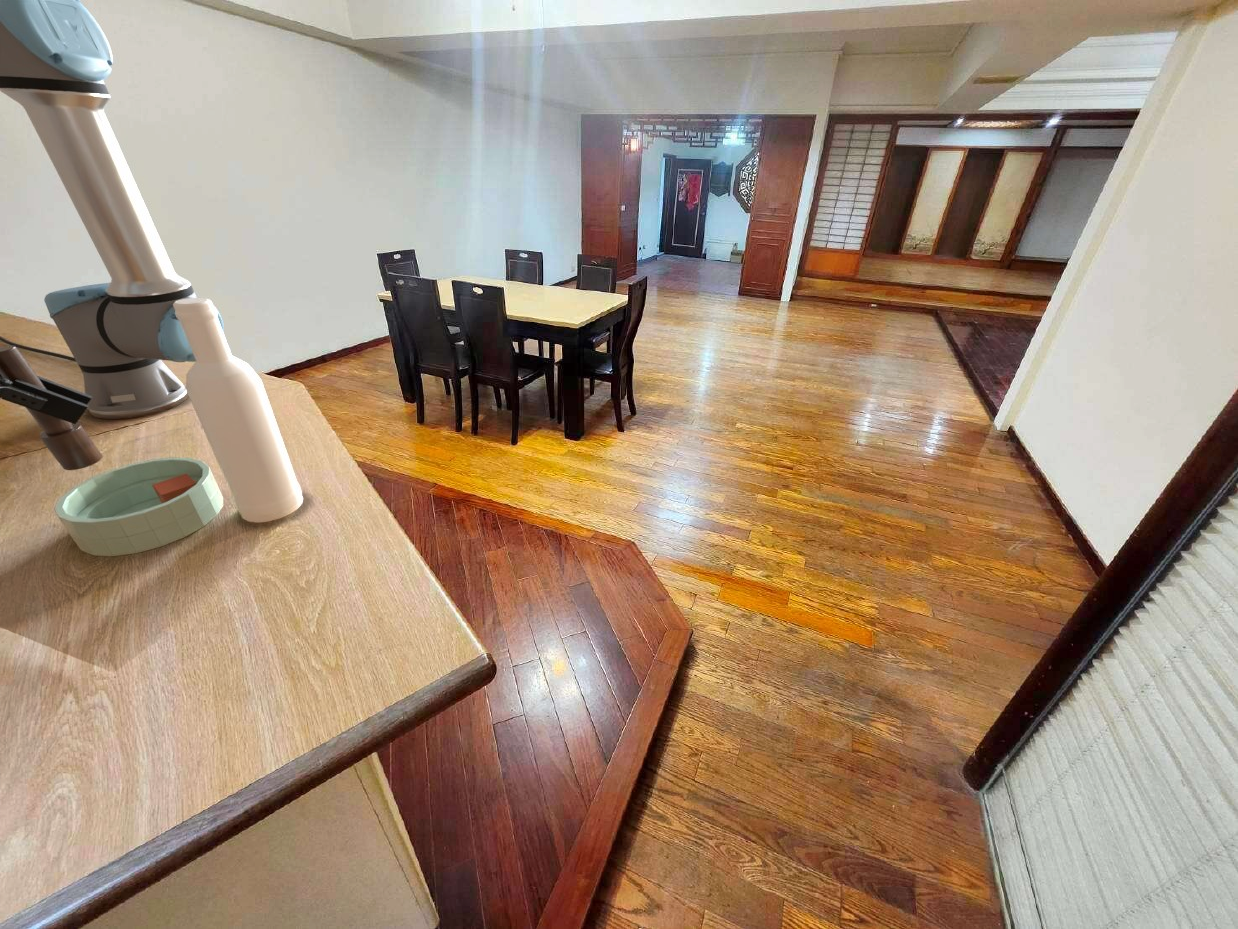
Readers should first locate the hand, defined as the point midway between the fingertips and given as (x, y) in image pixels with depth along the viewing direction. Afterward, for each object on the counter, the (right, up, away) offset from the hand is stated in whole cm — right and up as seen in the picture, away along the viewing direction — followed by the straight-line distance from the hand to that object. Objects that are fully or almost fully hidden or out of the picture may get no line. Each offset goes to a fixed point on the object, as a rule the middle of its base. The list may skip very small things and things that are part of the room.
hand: (83, 409), depth 65 cm
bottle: (+19, -14, +8) cm, 25 cm away
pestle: (-2, -7, +2) cm, 8 cm away
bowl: (+5, -15, +4) cm, 17 cm away
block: (+8, -13, +7) cm, 17 cm away
